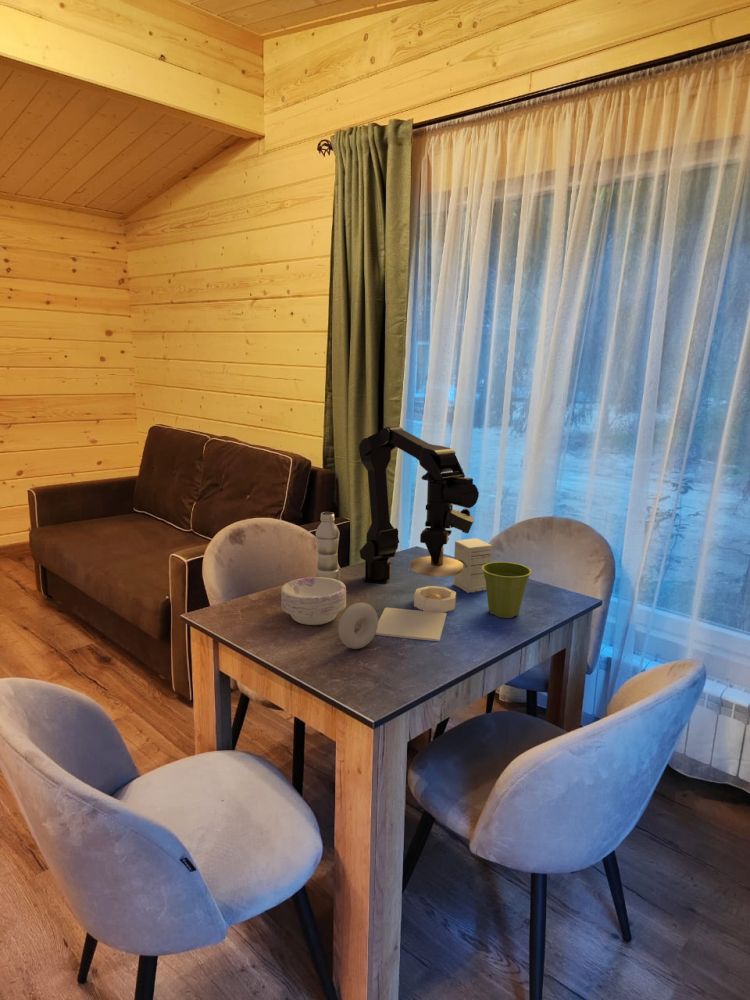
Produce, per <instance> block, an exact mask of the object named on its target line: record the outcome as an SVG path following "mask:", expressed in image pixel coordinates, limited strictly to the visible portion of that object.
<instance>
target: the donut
mask: <svg viewBox="0 0 750 1000" xmlns="http://www.w3.org/2000/svg"><path fill="white" fill-rule="evenodd" d="M359 620H362V625H361V628H360V629H359V630H358V631H357V632H355V627H356V625H357V622H359ZM378 621H379V616H378V614H377V611H376V610H375V608H374V607H373V606H372V605H371V604H369V603H366V602H356V603H354V604H351V605H350V606H348V608H346V609H345V610H344V612H343V614H342V615H341V617H340V619H339V622H338V628H337V631H338V638H339V639H340V641H341V643H342V644H343V645H345V646H346V647H347V648H349V649H354V650H357V649H362V648H364V647H366V646H368V644H369V643H371V642H372V640H373V639H374V637H375V636H376V635H375V633H376V631H377V627H378Z"/></svg>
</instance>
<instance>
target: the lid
mask: <svg viewBox="0 0 750 1000" xmlns="http://www.w3.org/2000/svg"><path fill="white" fill-rule="evenodd" d="M410 570H411V571H412V572H414V573H415V574H419V575H422V576H426V577H427V576H428V577H436V578H437V577H438V578H439V577H441V578H443V577H444V578H445V577H452V576H453V575H457V574H459V573H461V572H462V571H463V563H462V562H460V561H458V560H456V559H454V557H448V556H444V547H443V548H442V550H441V554H440V559H439V563H438V564H434V563H433V561H432V558H431V556H430V555H428V556H420V557H417V558H414V559H412V560H411V562H410Z"/></svg>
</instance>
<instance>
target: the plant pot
mask: <svg viewBox="0 0 750 1000" xmlns="http://www.w3.org/2000/svg"><path fill="white" fill-rule="evenodd" d="M482 570H483V571H484V577H485V580H486V588H487V590H486V597H487V606H488V612H489V613H490V614H491V615H494V616H496V617H499V618H506V619H511V618H515V616H518V615H519V614H520V610H521V606H522V601H523V597H524V595H525V589H526V585H527V583H528V581H529V577H530V576H531V575H532V572H533V570H532V569H531V568H529V566H526V565H523V564H520V563H515V562H509V561H493V562H492V561H491V563H487V564H484V565H483V566H482Z"/></svg>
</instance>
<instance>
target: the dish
mask: <svg viewBox="0 0 750 1000" xmlns="http://www.w3.org/2000/svg"><path fill="white" fill-rule="evenodd" d="M413 598H414V599H413V607H415V608H417V609H418V610H420V611H422V610H423V611H428V612H439V613H447V612H450V611H451V612H452V611H454V610H455V608H456V604H457V592H456V591H454V590H452V589H450V588H448V587H446V586H435V585H432V586H431V585H427V586H424V587H419V588H416V590H415V592H414V595H413Z"/></svg>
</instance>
